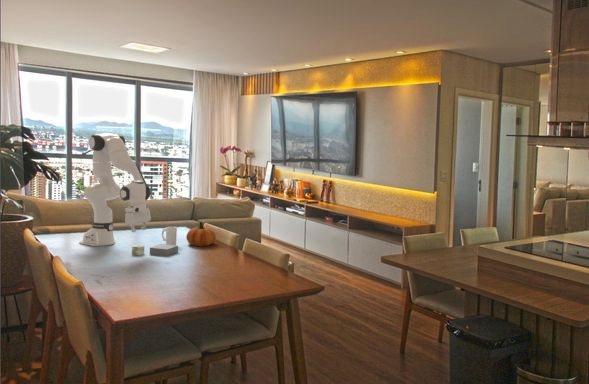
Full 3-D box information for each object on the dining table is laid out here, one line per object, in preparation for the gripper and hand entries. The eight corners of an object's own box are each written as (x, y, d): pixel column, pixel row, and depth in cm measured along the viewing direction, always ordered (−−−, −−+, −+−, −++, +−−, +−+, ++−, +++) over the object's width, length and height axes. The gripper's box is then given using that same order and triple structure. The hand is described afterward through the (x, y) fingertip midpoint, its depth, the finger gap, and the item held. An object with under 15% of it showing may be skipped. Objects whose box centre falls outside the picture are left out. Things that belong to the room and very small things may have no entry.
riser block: (149, 254, 300) (149, 247, 300) (161, 250, 311) (161, 243, 311) (167, 256, 296) (167, 249, 296) (178, 252, 308) (178, 245, 307)
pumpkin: (206, 248, 321) (206, 225, 319) (180, 245, 327) (180, 223, 326) (221, 243, 339) (221, 221, 337) (196, 240, 345) (196, 219, 344)
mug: (178, 245, 329) (178, 226, 328) (173, 246, 323) (173, 228, 321) (164, 243, 331) (164, 225, 330) (159, 245, 325) (159, 227, 324)
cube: (132, 254, 298) (131, 246, 297) (137, 253, 302) (137, 244, 302) (139, 255, 296) (139, 247, 296) (144, 253, 301) (144, 245, 300)
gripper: (144, 205, 307) (144, 228, 308) (122, 209, 288) (123, 233, 289) (153, 206, 305) (153, 228, 306) (132, 209, 286) (132, 233, 287)
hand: (138, 231), depth 298 cm, fingers open, 8 cm apart
